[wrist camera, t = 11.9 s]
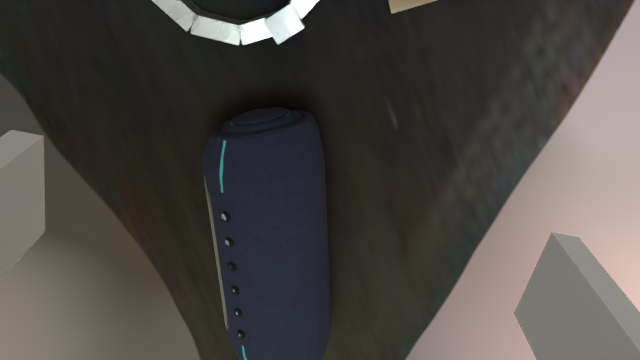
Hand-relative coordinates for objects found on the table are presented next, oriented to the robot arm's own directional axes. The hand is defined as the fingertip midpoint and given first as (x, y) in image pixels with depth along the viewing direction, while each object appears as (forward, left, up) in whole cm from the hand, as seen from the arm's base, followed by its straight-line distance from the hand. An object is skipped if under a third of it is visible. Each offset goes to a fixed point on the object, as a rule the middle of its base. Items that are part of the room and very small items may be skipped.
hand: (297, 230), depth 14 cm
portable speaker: (+16, -9, -33) cm, 38 cm away
